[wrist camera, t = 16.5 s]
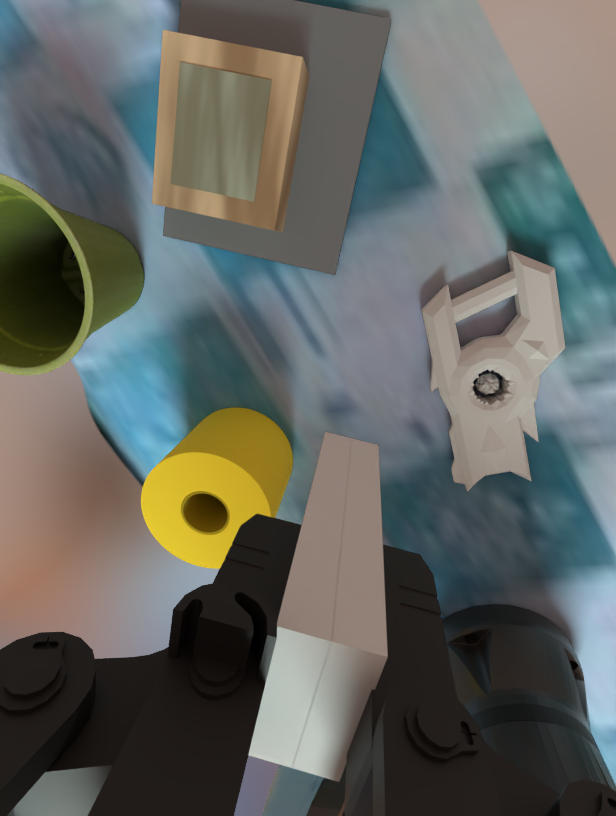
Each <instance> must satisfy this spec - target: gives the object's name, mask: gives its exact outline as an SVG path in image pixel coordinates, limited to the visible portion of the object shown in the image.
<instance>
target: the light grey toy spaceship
mask: <svg viewBox="0 0 616 816" xmlns="http://www.w3.org/2000/svg"><path fill="white" fill-rule="evenodd" d="M507 254H508V261H509V267H510V272H508V273H506V274H504V275H502V276H500V277H498V278H496V279H493V280H491V281H489V282H487V283H485V284H483V285H481V286H479V287H476V288H474V289H472V290H470V291H468V292H466V293H464V294H462V295H460V296H457V297H455V298H453V299H451V298H450V293H449V288H448V284H445V285H444V287H443V288H442V289H441V290H440V291H439V292H438V293H437V294H436V295H435V296H434V297H433V298H432V299H431V300H430V301H429V302H428V303H427V304H426V305H425V306H424V307H423V308H422V309H421V311H422V316H423V320H424V325H425V330H426V334H427V339H428V344H429V348H430V353H431V358H432V367H431V381H430V389H431V392H432V391H434V390H435V389H436V388H438V390H439V394H440V396H441V398H442V400H443V402H444V403H445V405H446V407H447V409H448V411H449V413H450V417H451V422H452V425H451V427H450V430H449V436H450V440H451V445H452V450H453V454H454V461H453V464H452V466H451V470H452V475H453V480H454V482H456V483H461V484H465V487H466V490H467V492H468V491H469V490H470V489H471V488H472V487H473V486H474V485H475V484H476V482H477V481H479V480H480V479H481V478H483V477H484V476H486V475H491V474H497V473H503V472H509V471H511V472H513V473H515V474H517V475H519V476H521V477H523V478H525V479H527V480H530V481H531V476H530V470H529V464H528V458H527V452H526V446H525V440H524V434H523V431H525V432H526V433H527V434H529V435H530V436H531V437H532V438H534V439H535V440H536V441H537V442H539V441H538V433H537V425H536V417H535V409H534V402H535V401H536V399H537V395H538V388H539V381H540V374H541V373H542V372H543V371H544V370H545V369H546V368H547V367H548V366H549V365H550V364H551V363H552V362H553V360H554V359H555V358H556V357H557V356H558V355H559V354H560V353H561V352H562V351H563V350H564V349H565V342H564V334H563V327H562V320H561V312H560V305H559V297H558V290H557V282H556V275H555V268H553V267H551V266H548V265H546V264H543V263H541V262H538V261H536V260H533V259H531V258H528V257H526V256H523V255H521V254H518V253H516V252H513V251H508V252H507ZM513 295H514V298H515V304H516V311H517V315H516V316H515V317H514V319H513V320H512V321H511V322H510V324H509V325H508V326H507V327H506V329H505V330H504V331H503V332H502V334H499V335H492V336H485V337H479V338H476V339H475V340H473V341H471V342H469V343H468V344H466V345H464V346H463V347H461V348H460V344H459V339H458V333H457V328H456V322H458V321H461V320H463V319H465V318H467V317H469V316H471V315H473V314H475V313H477V312H479V311H482V310H484V309H486V308H488V307H490V306H492V305H494V304H496V303H498V302H501V301H503V300H505V299H507V298H509V297H511V296H513ZM487 369H488V370H489V371H490V372H491V371H492V370H494V371H495V372H497V373H499V374H500V376H501V377H502V378H503V380H501V383H502V384H501V385H502V386H499V379H498V378H496V376H495V375H492V374H491V373H488V374H483V375H481V377H480V378H479V376H478V374H480V373H482V372H483V371H486V370H487ZM475 378H479V380H477V381H478V382H477V383H475V384H476V387H477V389H478V391H479V392H481V393H485V395H487V394H489V393H490V394H492V393H493V394H492V396H488V395H487V396H486V397H485V396H484V397H482V396H481V395H476V394H475V392H474V390H473V388H474V387H473V386H474V383H473V381H474V380H475ZM496 390H498V391H496Z"/></svg>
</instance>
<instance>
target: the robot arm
mask: <svg viewBox="0 0 616 816" xmlns="http://www.w3.org/2000/svg"><path fill="white" fill-rule="evenodd" d="M440 614H441V612H440V607H439V602H438V600H437V592H436V587H435V582H434V576H433V574H432V572H431V571H430V569H429V568H428V566H427V564H426V563H425V561H424V560H423V558H422V557H421V555H420V554H416V553H412V552H409V551H405V550H401V549H397V548H393V547H390V546H386V545H383V538H382V514H381V491H380V468H379V445H376V444H372V443H368V442H364V441H360V440H356V439H352V438H348V437H344V436H340V435H336V434H332V433H328V432H325V435H324V439H323V443H322V447H321V451H320V455H319V459H318V463H317V467H316V471H315V475H314V479H313V482H312V486H311V490H310V494H309V498H308V502H307V506H306V510H305V514H304V518H303V522H302V525H299V524H295V523H292V522H288V521H284V520H280V519H276V518H273V517H269V516H265V515H261V514H255V515H254V516H253V517H251V518H250V519H249V520H247V521H246V522H245V523H243V524H242V525H241V526H240V528H239V530H238V532H237V534H236V536H235V538H234V540H233V542H232V546H231V547H230V549H229V551H228V553H227V555H226V557H225V560H224V561H223V563H222V565H221V567H220V570H219V572H218V574H217V576H216V578H215V580H214V582H213V584H208V585H203V586H201V587H199V588H197V589H195V590H193V591H192V592H190V593H188V594H186V595H185V596H184V597H183V598H182V600H181V601H180V602H179V603H178V604H177V605H176V607H175V608H174V609H173V616H172V624H171V633H170V640H169V647H168V648H166V649H164V650H162V651H159V652H156V653H153V654H150V655H145V656H138V657H128V658H108V659H107V658H105V659H94V654H93V650H92V649H91V648H90V647H89V646H88V645H87V644H86V643H85V642H84V641H83V640H82V639H81V638H79V637H76V636H73V635H70V634H67V633H64V632H46V633H38V634H34V635H31V636H28V637H25V638H21V639H18V640H16V641H14V642H12V643H11V644H9V645H7V646H6V647H4V648H2V649H1V650H0V816H234V812H235V808H236V803H237V799H238V796H239V792H240V787H241V783H242V779H243V775H244V771H245V766H246V762H247V758H248V755H250V756H253V757H256V758H260V759H263V760H267V761H270V762H274V763H277V764H280V765H279V767H278V770H277V772H276V774H275V776H274V779H273V782H272V785H271V787H270V790H269V793H268V797H267V800H266V803H265V807H264V811H263V814H262V816H616V785H615V783H614V781H613V778H612V776H611V774H610V772H609V770H608V768H607V766H606V764H605V761H604V759H603V757H602V755H601V753H600V751H599V749H598V747H597V745H596V742H595V740H594V738H593V736H592V733H591V730H590V722H589V714H588V707H587V699H586V691H585V683H584V676H583V671H582V668H581V665H580V662H579V660H578V658H577V656H576V654H575V652H574V650H573V648H572V646H571V644H570V642H569V640H568V639H567V637H566V636H565V634H564V633H563V632H562V631H561V630H560V629H559V628H558V627H557V626H556V625H555V624H554V623H552V622H551V621H549V620H548V619H546V618H544V617H542V616H541V615H538V614H536V613H534V612H531V611H528V610H525V609H521V608H517V607H511V606H499V605H492V606H481V607H475V608H470V609H467V610H463V611H461V612H458V613H456V614H453V615H451V616H449V617H448V618H446V619H444V620H443V621H442V618H440Z"/></svg>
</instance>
